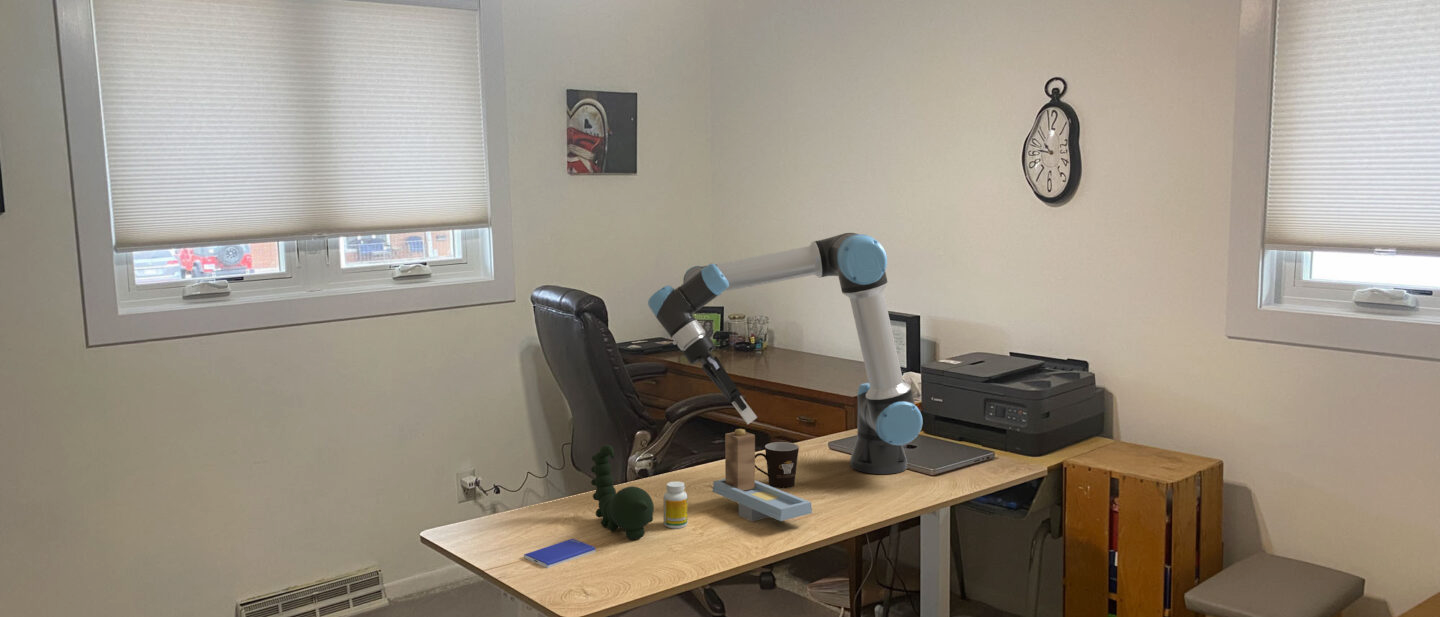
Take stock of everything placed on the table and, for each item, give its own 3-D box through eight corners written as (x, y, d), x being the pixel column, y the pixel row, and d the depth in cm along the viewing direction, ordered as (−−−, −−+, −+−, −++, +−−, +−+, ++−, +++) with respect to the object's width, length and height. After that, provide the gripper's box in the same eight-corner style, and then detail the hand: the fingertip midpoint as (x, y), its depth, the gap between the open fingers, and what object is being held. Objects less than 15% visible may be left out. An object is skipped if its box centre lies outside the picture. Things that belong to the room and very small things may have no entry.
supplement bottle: (660, 523, 234) (659, 482, 233) (681, 519, 236) (681, 479, 235) (669, 530, 229) (669, 488, 228) (691, 526, 232) (691, 485, 230)
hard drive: (571, 537, 222) (523, 553, 213) (595, 547, 216) (547, 563, 207) (571, 544, 222) (523, 560, 213) (595, 554, 216) (547, 570, 208)
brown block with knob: (725, 486, 246) (725, 429, 244) (742, 483, 249) (742, 426, 247) (737, 492, 242) (737, 433, 240) (754, 488, 245) (754, 430, 243)
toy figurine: (583, 525, 237) (628, 550, 216) (578, 444, 236) (624, 460, 215) (620, 519, 242) (668, 542, 220) (616, 439, 241) (664, 454, 219)
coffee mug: (799, 480, 267) (799, 442, 265) (798, 490, 258) (798, 451, 257) (754, 479, 268) (754, 441, 267) (751, 489, 259) (751, 450, 258)
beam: (712, 503, 248) (712, 481, 247) (742, 497, 253) (742, 474, 252) (780, 534, 227) (780, 509, 226) (811, 526, 232) (812, 502, 231)
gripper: (681, 356, 257) (737, 433, 254) (683, 347, 245) (742, 427, 241) (705, 339, 259) (761, 415, 256) (708, 328, 246) (768, 408, 243)
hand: (752, 421), depth 249 cm, fingers closed
